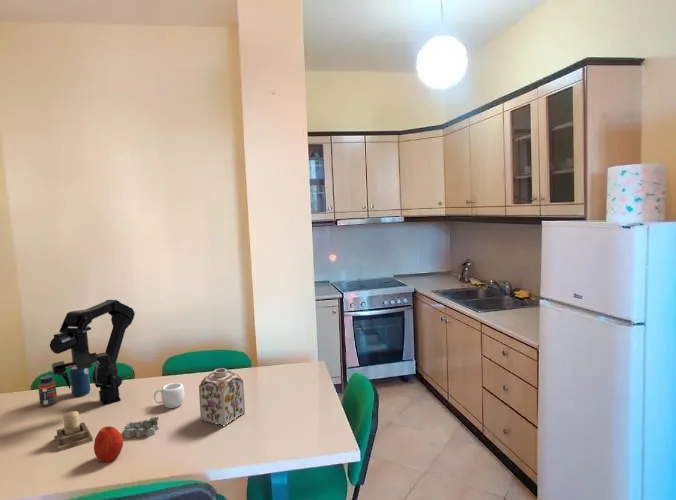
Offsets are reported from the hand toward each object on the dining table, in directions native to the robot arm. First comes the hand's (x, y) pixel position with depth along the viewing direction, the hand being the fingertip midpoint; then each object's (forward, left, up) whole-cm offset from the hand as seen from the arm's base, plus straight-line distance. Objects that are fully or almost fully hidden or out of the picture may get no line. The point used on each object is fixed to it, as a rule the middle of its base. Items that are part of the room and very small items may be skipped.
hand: (83, 384), depth 175 cm
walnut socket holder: (+7, +18, -12) cm, 23 cm away
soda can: (-2, -24, -12) cm, 27 cm away
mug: (-27, +13, -12) cm, 32 cm away
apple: (0, +39, -12) cm, 41 cm away
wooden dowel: (+7, +18, -11) cm, 22 cm away
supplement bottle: (+10, -22, -12) cm, 27 cm away
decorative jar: (-39, +37, -12) cm, 55 cm away
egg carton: (-13, +28, -12) cm, 33 cm away
